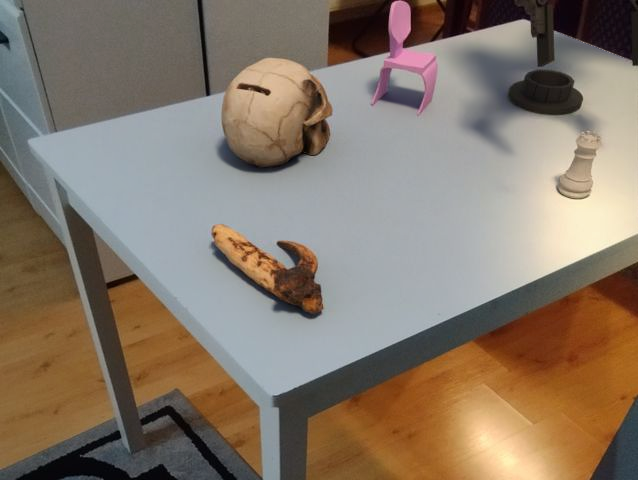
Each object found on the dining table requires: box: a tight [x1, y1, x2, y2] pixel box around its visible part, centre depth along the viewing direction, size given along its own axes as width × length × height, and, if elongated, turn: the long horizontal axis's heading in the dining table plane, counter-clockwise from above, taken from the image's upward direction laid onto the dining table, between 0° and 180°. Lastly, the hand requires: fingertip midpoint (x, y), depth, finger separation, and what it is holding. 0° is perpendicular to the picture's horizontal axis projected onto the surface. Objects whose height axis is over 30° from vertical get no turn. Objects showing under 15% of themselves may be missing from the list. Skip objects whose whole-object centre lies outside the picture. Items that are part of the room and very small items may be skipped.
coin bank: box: [220, 57, 334, 168], centre depth 95 cm, size 16×17×13 cm
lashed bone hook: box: [211, 223, 325, 315], centre depth 76 cm, size 9×5×18 cm
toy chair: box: [370, 0, 439, 116], centre depth 106 cm, size 8×9×15 cm
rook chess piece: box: [557, 130, 603, 200], centre depth 89 cm, size 4×4×8 cm
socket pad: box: [507, 69, 584, 116], centre depth 113 cm, size 12×12×4 cm
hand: (594, 63), depth 86 cm, fingers open, 13 cm apart
